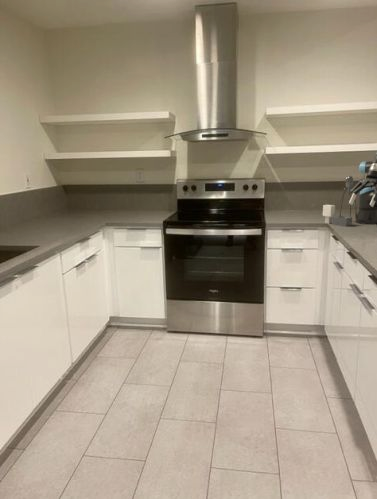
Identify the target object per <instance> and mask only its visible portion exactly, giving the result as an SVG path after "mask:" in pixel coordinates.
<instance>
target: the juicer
mask: <svg viewBox="0 0 377 499" xmlns="http://www.w3.org/2000/svg"><path fill="white" fill-rule="evenodd" d="M353 185H354V177H353V176H352V175H348V176H346V178H345V187H343V192H342V195H341V201H340V204H339V215H338V216H342V208H343V202H344V197H345V194H346V192H347V194H348V196H349V200H350V199H351V198H350V197H351V195H352V193H351V192H350V191H351V190H352V188H353V187H354V186H353ZM353 205H354V215H355V218H356V216H357V213H358V211H357V200H356V198H355V200H354V202H353ZM349 217H352V205H351V204H350V203H349Z"/></svg>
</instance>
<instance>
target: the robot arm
mask: <svg viewBox="0 0 377 499" xmlns="http://www.w3.org/2000/svg"><path fill="white" fill-rule="evenodd" d="M358 170H359V172H360V174H366V177H365V179H363V178H360V179H359V181H358V182H357V183H356V184H355V185H354V186H352V187H353V188H352V190H351V191H350V192H351V197H350V196H349V202H348V204H349V205H350V204H351V206H353V205H354V200H355V199H356V198H357V194H358V193H359V199H358V200H359V201H358V211H357V216H356V218H355V219H354V222H355V223H356V224H357V223H358V224H366V225H375V224H376V225H377V152H376V153H375V156H374V158H373V160H371V161H368V160H366V161H361V163H360V164H359V168H358ZM350 198H351V199H350Z"/></svg>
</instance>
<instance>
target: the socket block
mask: <svg viewBox="0 0 377 499" xmlns="http://www.w3.org/2000/svg"><path fill="white" fill-rule="evenodd" d="M352 222H353V217H352V216H351V217H350V216H343V215H341V216H339V215H335V216H332V223H331V225H333V226H334V225H335V226H340V227H348V226H349V225H350V226H352V225H353V223H352Z"/></svg>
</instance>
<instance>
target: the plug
mask: <svg viewBox="0 0 377 499" xmlns="http://www.w3.org/2000/svg"><path fill="white" fill-rule="evenodd" d="M322 216H323V217H324V224H332V217H334V216H336V204H335V205H334V204H323V205H322Z"/></svg>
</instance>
